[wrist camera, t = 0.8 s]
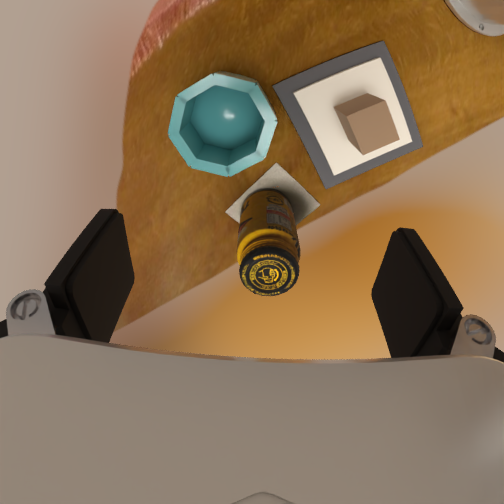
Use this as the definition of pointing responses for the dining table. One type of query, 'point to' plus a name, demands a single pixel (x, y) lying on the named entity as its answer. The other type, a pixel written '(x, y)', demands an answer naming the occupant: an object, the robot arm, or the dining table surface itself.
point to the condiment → (270, 231)
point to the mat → (331, 68)
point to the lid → (354, 115)
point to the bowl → (222, 123)
